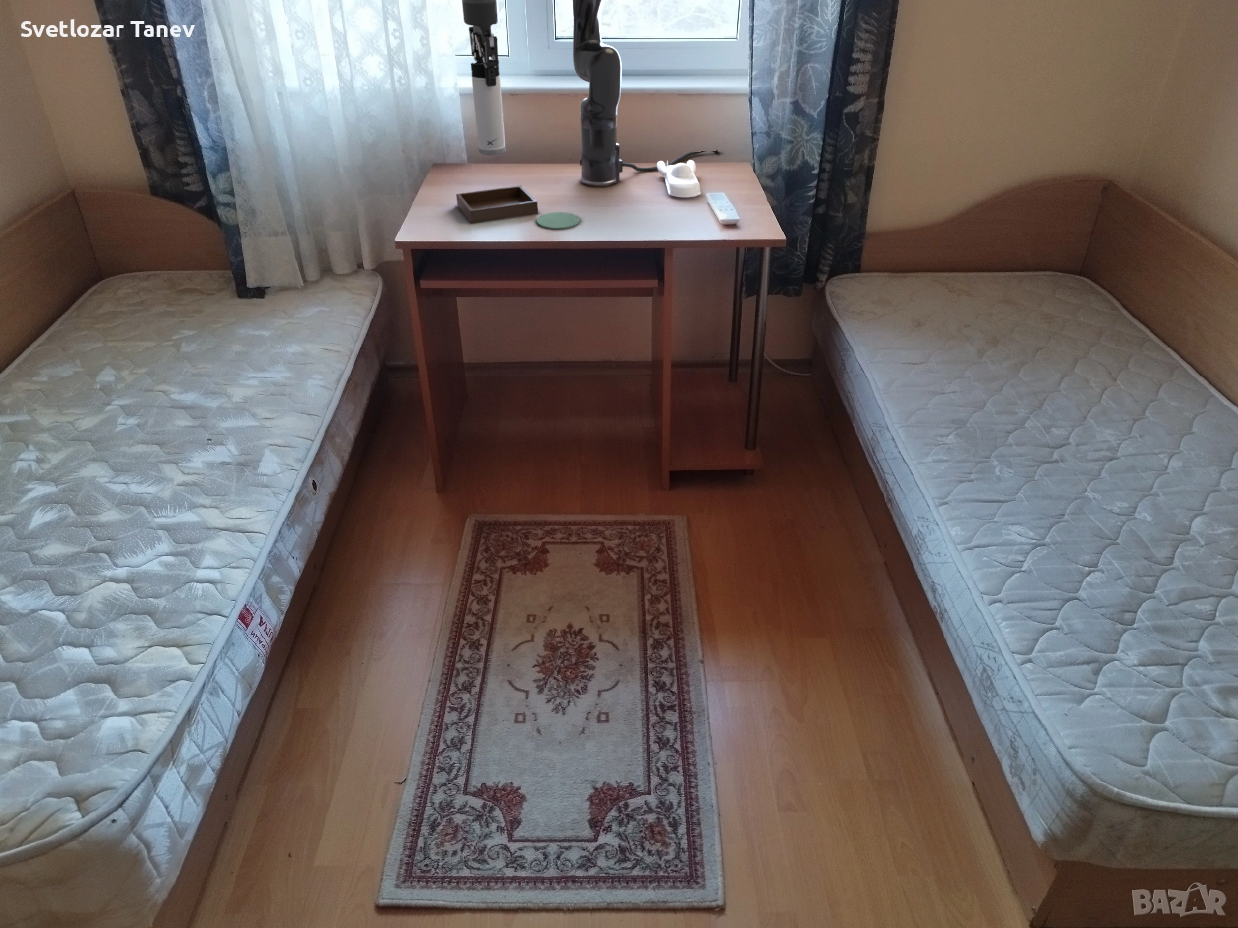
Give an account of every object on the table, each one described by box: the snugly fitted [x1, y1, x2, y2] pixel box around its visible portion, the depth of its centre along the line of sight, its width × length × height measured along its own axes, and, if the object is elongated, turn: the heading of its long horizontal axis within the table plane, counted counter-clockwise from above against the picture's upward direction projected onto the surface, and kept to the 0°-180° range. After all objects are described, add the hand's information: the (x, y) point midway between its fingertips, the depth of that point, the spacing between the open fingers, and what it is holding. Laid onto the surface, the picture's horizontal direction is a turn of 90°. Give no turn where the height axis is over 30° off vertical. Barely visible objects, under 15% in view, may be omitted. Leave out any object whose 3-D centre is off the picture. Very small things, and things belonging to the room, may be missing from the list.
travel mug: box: [470, 58, 507, 156], centre depth 197 cm, size 6×7×20 cm
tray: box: [455, 185, 539, 224], centre depth 211 cm, size 17×13×3 cm
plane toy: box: [656, 159, 702, 198], centre depth 225 cm, size 10×20×6 cm, turn 4°
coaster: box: [536, 211, 580, 230], centre depth 206 cm, size 10×10×1 cm
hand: (486, 82), depth 194 cm, fingers closed on travel mug, 6 cm apart
